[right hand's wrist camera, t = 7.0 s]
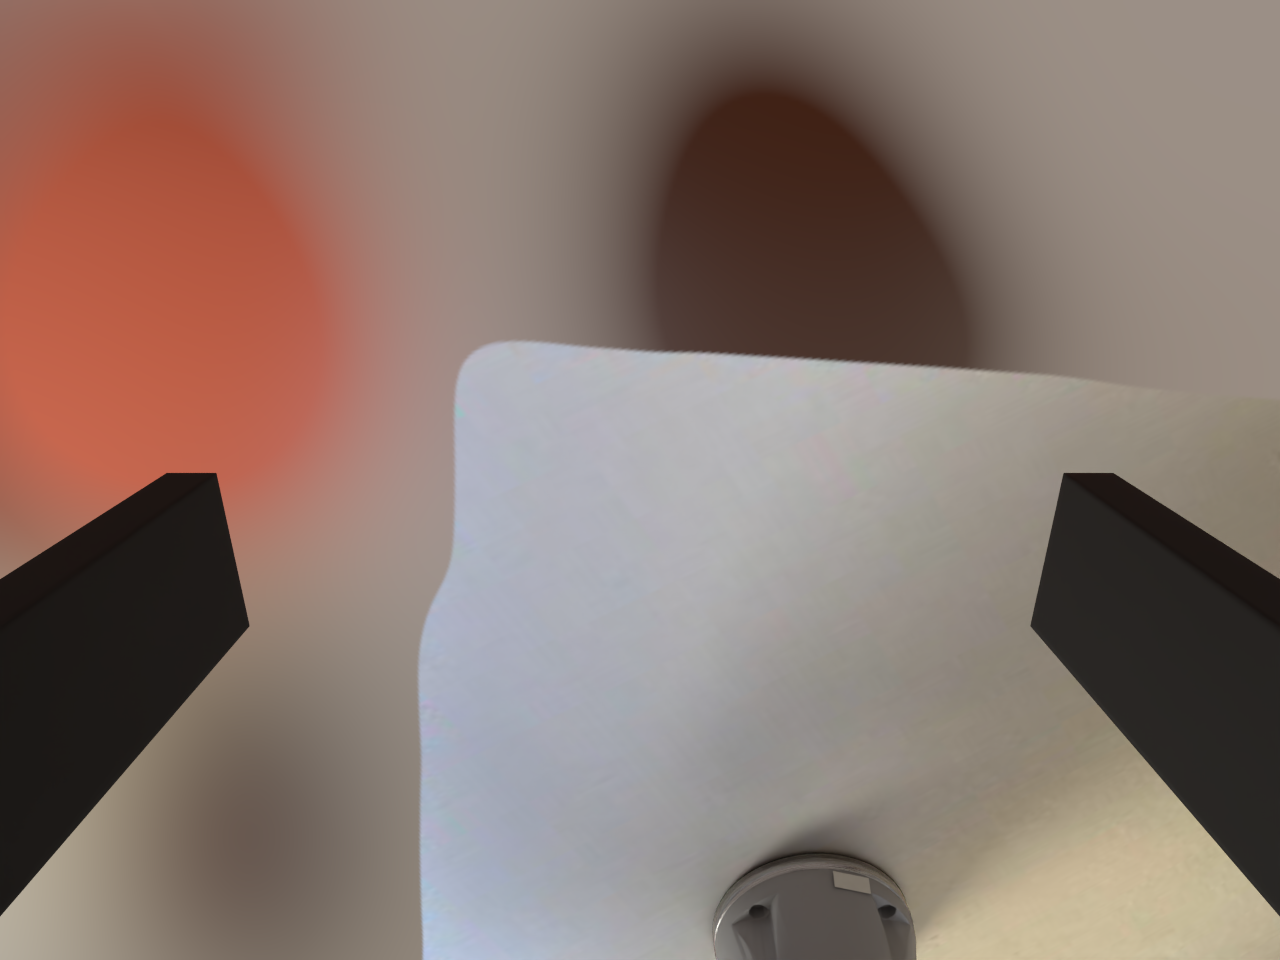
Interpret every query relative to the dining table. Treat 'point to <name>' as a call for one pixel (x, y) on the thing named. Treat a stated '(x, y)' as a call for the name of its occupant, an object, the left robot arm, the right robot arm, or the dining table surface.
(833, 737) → the dining table surface
